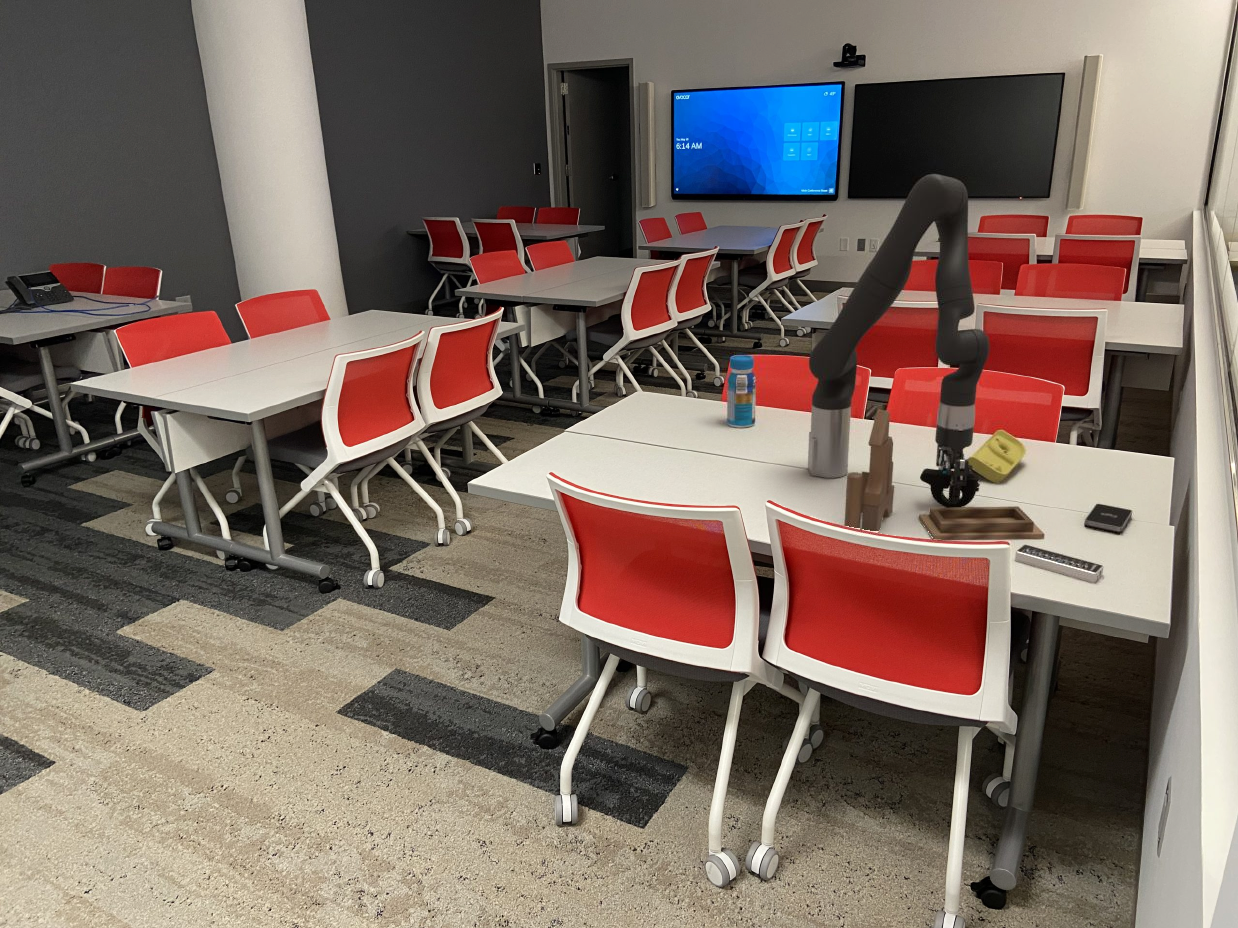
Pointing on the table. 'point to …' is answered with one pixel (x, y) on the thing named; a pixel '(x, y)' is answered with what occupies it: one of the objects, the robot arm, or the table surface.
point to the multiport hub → (1059, 563)
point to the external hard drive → (1108, 518)
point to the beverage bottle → (741, 392)
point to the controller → (941, 480)
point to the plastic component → (997, 456)
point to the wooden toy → (872, 481)
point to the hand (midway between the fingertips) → (948, 494)
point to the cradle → (980, 523)
